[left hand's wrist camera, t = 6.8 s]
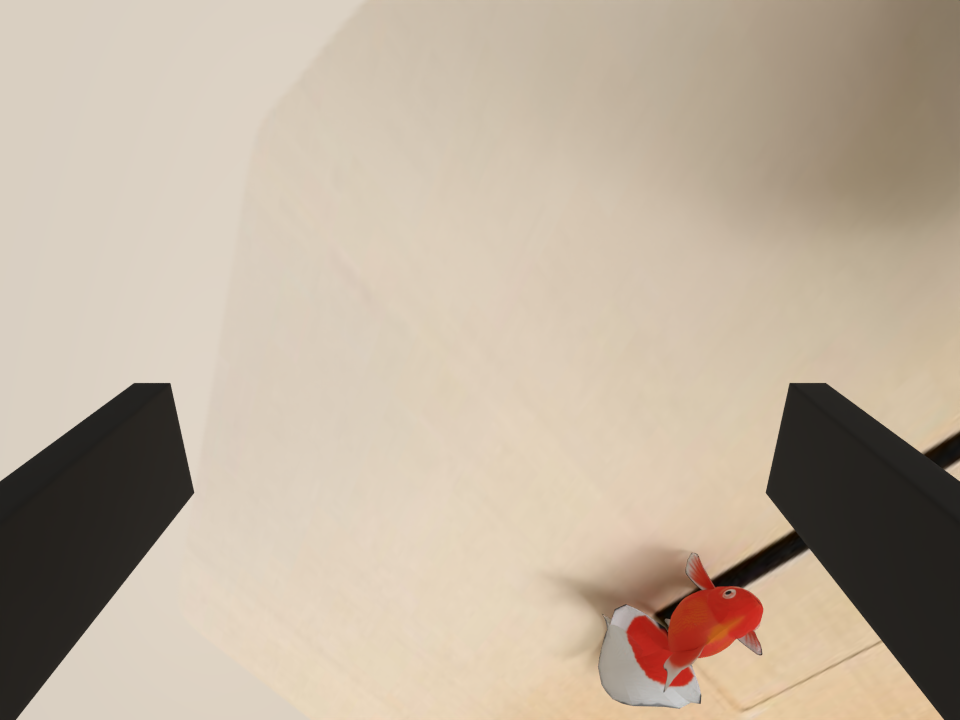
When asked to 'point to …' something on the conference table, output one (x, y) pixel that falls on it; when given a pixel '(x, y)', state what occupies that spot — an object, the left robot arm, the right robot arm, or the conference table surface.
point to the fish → (675, 643)
